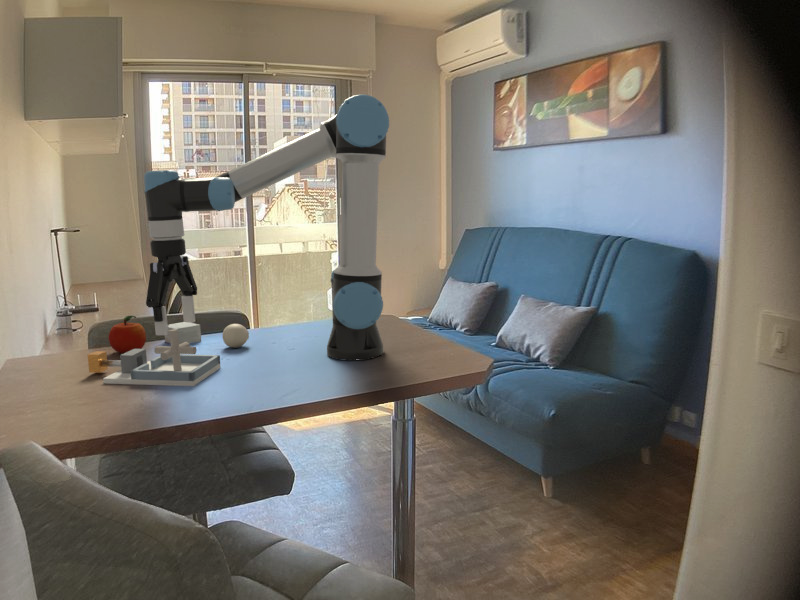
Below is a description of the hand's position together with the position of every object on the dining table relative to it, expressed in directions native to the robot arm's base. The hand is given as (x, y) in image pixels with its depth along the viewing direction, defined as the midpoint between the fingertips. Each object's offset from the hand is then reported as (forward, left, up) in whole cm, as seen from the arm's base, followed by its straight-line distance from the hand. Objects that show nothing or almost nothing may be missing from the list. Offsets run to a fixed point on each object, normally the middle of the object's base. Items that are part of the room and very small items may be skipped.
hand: (176, 328), depth 150 cm
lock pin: (+17, 0, -11) cm, 20 cm away
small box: (+16, -33, -12) cm, 39 cm away
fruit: (+25, -20, -12) cm, 34 cm away
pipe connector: (0, 0, -11) cm, 11 cm away
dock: (+4, 0, -12) cm, 12 cm away
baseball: (-3, -28, -12) cm, 30 cm away
